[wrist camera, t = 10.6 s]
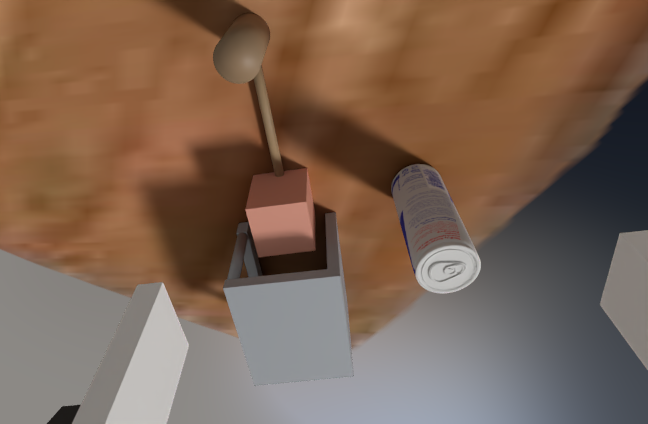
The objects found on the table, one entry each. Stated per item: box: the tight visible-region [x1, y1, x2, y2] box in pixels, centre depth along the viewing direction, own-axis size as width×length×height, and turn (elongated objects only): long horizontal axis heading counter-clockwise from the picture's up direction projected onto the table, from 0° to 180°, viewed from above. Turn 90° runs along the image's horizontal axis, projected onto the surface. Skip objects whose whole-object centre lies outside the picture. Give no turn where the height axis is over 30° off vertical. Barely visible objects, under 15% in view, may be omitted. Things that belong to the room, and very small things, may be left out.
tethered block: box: [213, 13, 316, 257], centre depth 44 cm, size 22×6×9 cm, turn 8°
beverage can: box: [391, 164, 481, 293], centre depth 45 cm, size 6×6×15 cm
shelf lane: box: [223, 212, 354, 386], centre depth 53 cm, size 15×11×11 cm
